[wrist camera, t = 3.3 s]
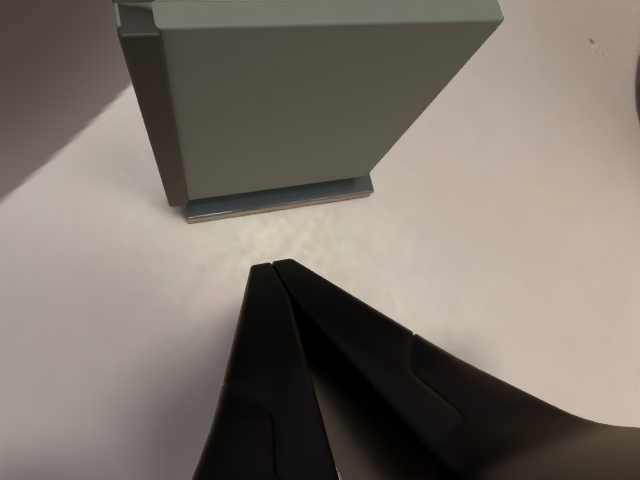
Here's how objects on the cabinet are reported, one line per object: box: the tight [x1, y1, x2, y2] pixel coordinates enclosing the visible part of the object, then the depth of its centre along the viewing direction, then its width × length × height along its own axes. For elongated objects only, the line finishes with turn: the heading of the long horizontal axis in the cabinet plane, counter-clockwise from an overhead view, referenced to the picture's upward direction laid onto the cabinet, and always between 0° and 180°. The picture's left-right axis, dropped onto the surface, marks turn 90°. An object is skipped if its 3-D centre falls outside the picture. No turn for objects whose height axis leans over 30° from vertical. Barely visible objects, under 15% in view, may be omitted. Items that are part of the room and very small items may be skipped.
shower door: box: [113, 0, 504, 206], centre depth 13 cm, size 1×8×9 cm, turn 104°
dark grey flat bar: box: [184, 174, 374, 223], centre depth 18 cm, size 2×8×1 cm, turn 104°
